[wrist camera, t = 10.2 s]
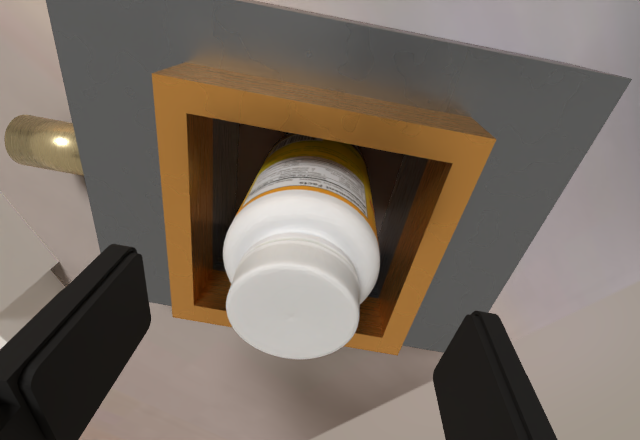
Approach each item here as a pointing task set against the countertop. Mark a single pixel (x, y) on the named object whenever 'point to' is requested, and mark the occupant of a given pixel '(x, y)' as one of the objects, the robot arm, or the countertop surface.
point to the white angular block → (22, 272)
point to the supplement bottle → (302, 249)
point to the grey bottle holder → (320, 122)
